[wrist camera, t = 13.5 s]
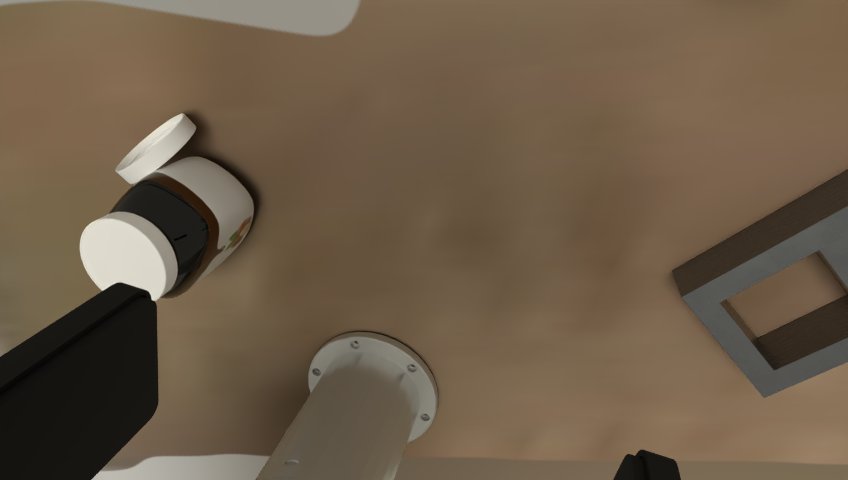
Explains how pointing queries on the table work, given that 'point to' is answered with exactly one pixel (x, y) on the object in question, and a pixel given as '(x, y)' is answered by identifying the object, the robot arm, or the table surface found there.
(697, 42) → the table surface
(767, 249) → the grey rectangular grid frame
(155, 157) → the spread jar
